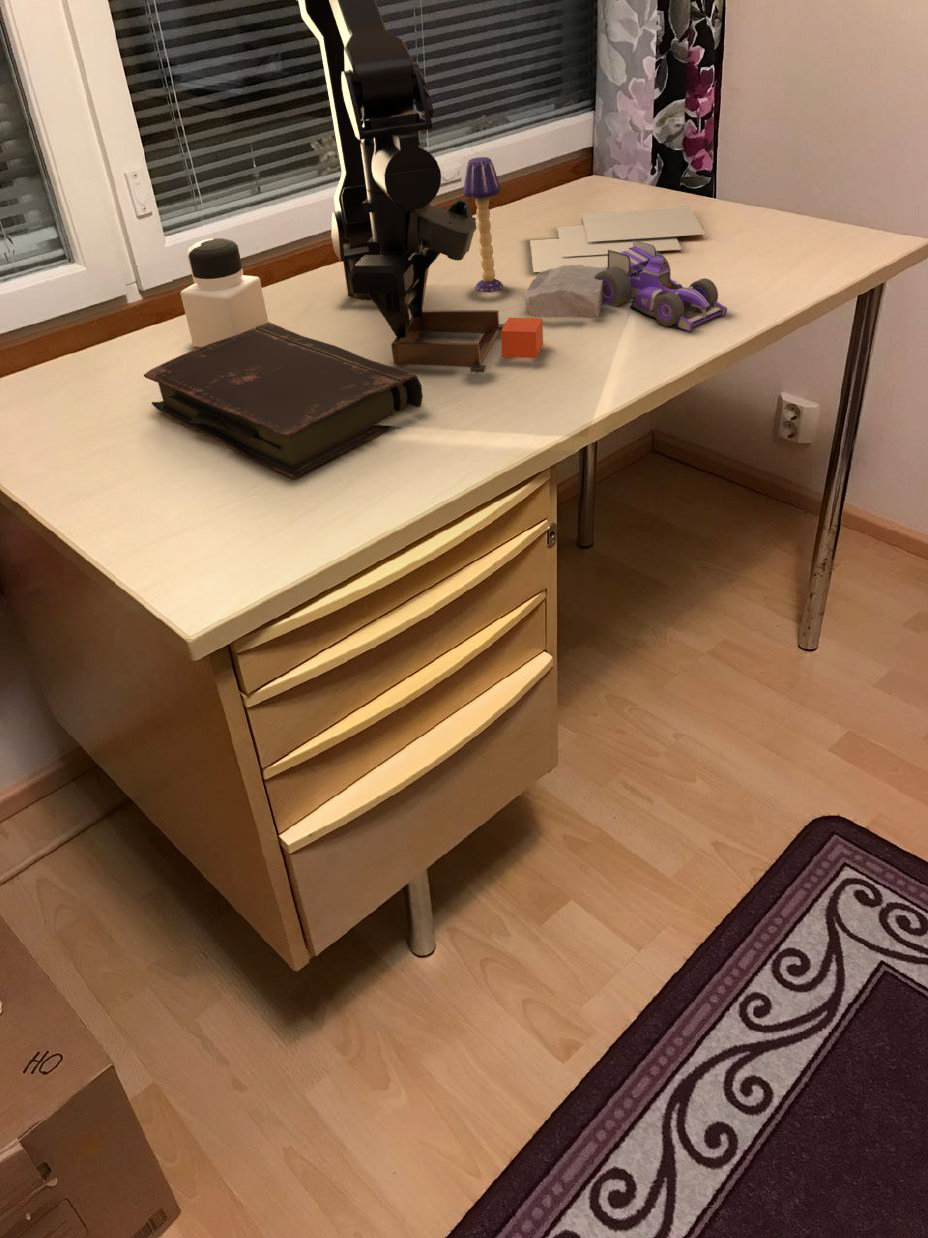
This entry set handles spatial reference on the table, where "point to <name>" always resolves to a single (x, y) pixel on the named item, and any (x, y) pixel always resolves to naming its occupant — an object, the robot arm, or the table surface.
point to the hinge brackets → (481, 367)
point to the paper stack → (613, 236)
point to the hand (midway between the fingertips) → (409, 326)
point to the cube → (522, 337)
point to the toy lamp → (483, 215)
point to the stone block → (566, 292)
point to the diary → (283, 396)
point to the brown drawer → (441, 351)
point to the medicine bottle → (220, 293)
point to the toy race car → (656, 288)
